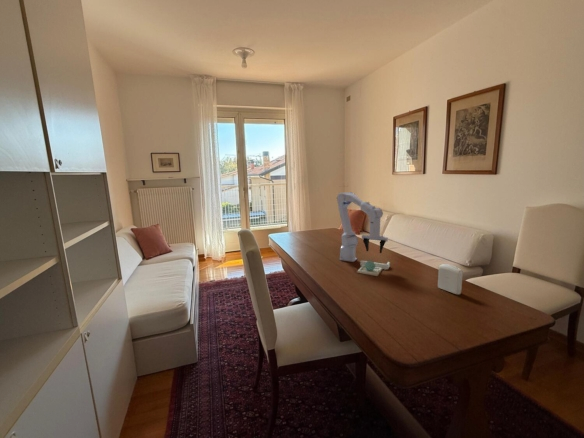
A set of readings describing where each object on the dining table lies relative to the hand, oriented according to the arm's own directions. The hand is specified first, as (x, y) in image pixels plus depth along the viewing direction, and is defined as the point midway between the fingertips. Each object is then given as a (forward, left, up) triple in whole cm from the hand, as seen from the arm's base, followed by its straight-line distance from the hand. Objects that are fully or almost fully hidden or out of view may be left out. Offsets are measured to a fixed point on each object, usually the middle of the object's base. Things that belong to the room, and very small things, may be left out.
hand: (373, 251), depth 154 cm
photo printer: (+39, -15, -10) cm, 43 cm away
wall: (0, +3, -10) cm, 10 cm away
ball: (0, -7, -9) cm, 11 cm away
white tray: (0, -7, -10) cm, 12 cm away
